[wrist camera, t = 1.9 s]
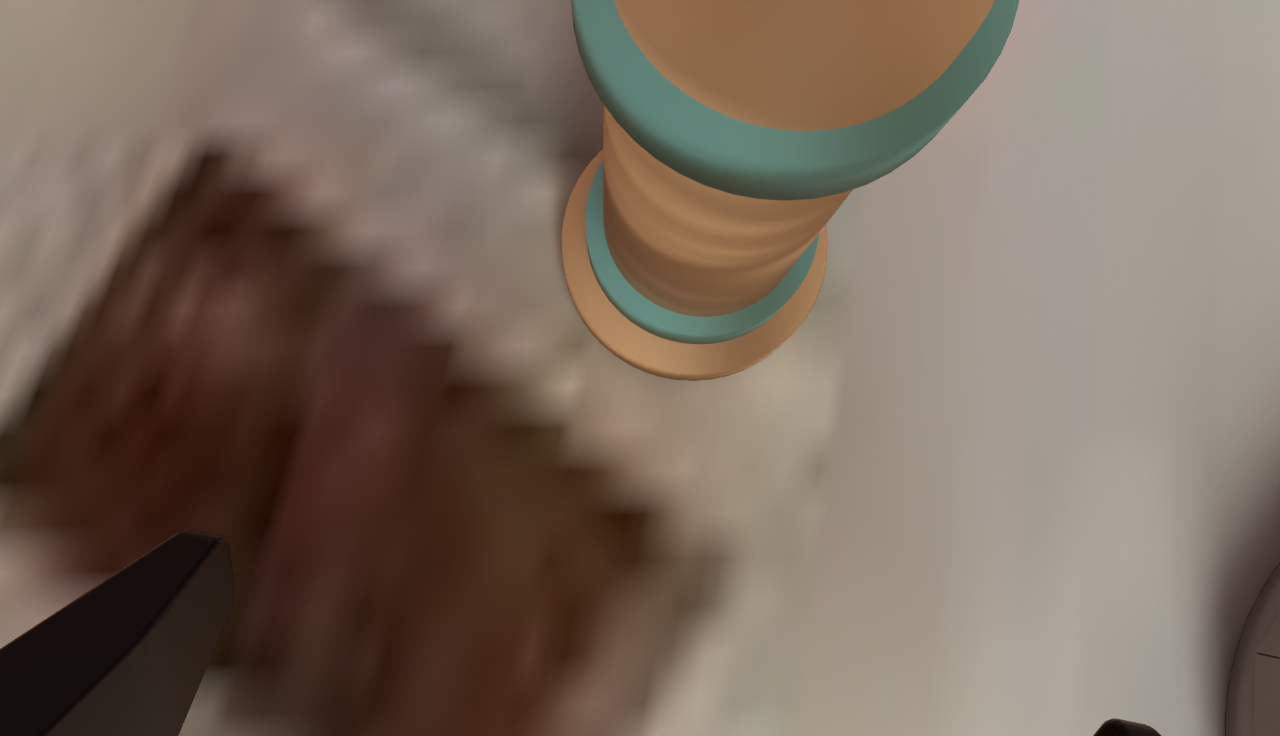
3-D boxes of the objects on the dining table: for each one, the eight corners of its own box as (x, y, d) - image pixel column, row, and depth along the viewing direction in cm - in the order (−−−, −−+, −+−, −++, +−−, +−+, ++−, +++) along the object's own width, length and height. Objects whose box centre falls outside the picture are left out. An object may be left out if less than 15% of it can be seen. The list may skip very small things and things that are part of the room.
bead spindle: (624, 421, 23) (655, 297, 10) (523, 189, 24) (418, -236, 10) (858, 320, 24) (1204, 66, 10) (753, 97, 25) (942, -421, 11)
